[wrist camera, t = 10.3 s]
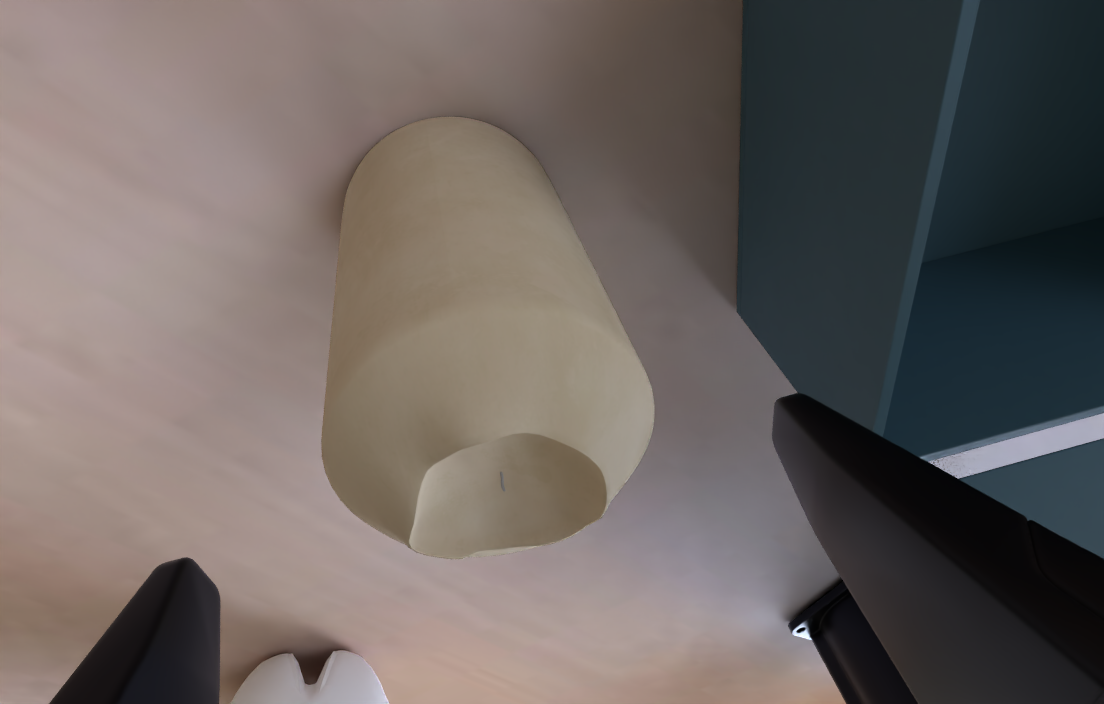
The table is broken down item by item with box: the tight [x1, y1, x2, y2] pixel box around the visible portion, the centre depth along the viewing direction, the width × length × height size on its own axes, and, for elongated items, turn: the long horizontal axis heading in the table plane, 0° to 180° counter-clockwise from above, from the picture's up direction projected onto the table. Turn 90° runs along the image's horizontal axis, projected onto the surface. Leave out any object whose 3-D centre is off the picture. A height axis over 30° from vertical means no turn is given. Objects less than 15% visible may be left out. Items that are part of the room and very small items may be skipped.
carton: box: [737, 0, 1104, 462], centre depth 15 cm, size 13×14×7 cm
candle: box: [321, 117, 655, 559], centre depth 14 cm, size 6×6×10 cm
